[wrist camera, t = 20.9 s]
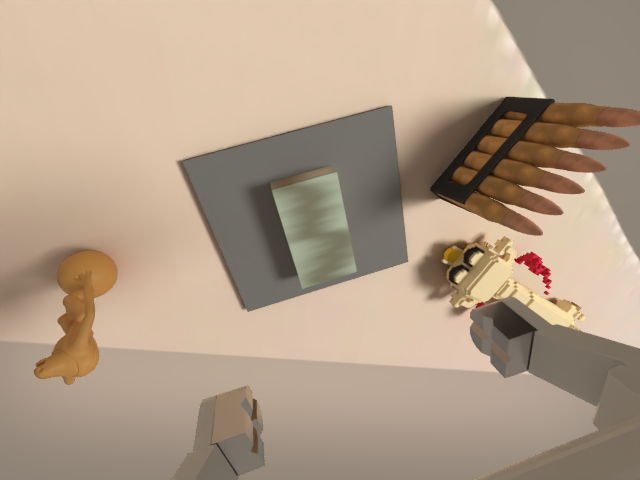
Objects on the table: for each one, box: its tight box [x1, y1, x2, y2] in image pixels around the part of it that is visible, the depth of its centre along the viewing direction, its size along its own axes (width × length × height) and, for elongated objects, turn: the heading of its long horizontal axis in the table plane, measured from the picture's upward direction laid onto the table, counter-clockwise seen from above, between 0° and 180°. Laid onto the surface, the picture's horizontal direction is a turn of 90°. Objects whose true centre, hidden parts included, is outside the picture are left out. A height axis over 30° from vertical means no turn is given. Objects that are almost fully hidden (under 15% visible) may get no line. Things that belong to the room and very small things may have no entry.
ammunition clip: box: [431, 97, 640, 235], centre depth 24 cm, size 11×2×12 cm, turn 143°
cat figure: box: [442, 237, 586, 332], centre depth 35 cm, size 10×9×25 cm
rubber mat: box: [182, 106, 408, 312], centre depth 29 cm, size 18×16×1 cm
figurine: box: [34, 251, 118, 385], centre depth 22 cm, size 8×6×12 cm
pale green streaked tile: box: [270, 166, 357, 289], centre depth 28 cm, size 6×2×10 cm
